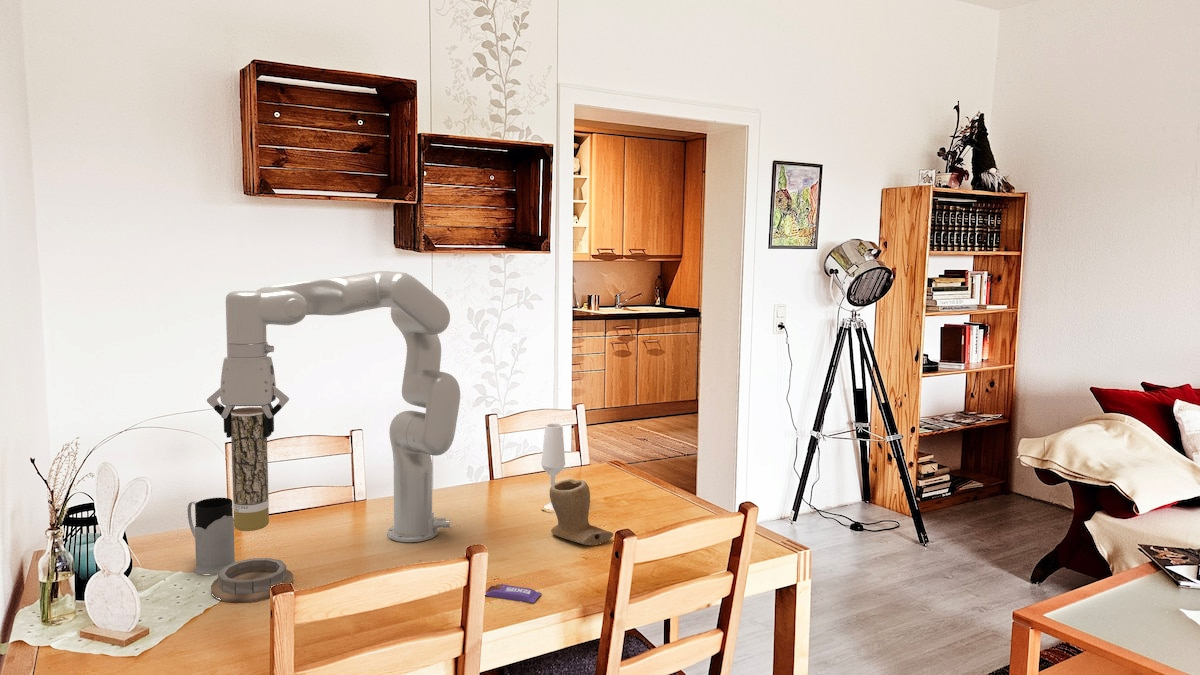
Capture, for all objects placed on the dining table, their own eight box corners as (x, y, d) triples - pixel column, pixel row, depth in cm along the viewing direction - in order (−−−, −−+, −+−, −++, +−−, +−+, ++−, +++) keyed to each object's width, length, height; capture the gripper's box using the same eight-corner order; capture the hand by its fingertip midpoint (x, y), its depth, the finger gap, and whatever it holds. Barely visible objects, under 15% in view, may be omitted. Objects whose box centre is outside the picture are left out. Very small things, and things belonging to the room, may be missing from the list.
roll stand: (300, 570, 180) (300, 554, 180) (283, 601, 165) (283, 583, 164) (225, 572, 178) (224, 556, 177) (200, 604, 162) (199, 586, 162)
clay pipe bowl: (539, 537, 205) (540, 479, 203) (573, 526, 213) (574, 471, 211) (580, 554, 194) (581, 493, 192) (614, 542, 202) (616, 484, 201)
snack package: (542, 588, 171) (534, 598, 166) (542, 597, 171) (533, 607, 166) (491, 581, 174) (482, 590, 169) (491, 589, 174) (482, 599, 169)
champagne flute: (568, 508, 228) (570, 425, 225) (555, 514, 222) (556, 429, 219) (549, 503, 231) (551, 421, 228) (535, 509, 225) (537, 425, 223)
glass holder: (208, 578, 175) (206, 511, 173) (171, 563, 182) (169, 499, 180) (245, 565, 182) (243, 501, 180) (208, 551, 189) (206, 490, 188)
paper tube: (256, 533, 166) (253, 414, 163) (226, 530, 167) (223, 412, 164) (275, 522, 172) (273, 408, 170) (247, 520, 174) (244, 406, 171)
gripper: (295, 349, 170) (296, 431, 173) (208, 348, 168) (211, 432, 170) (286, 353, 163) (288, 439, 165) (195, 353, 161) (198, 440, 163)
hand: (249, 435), depth 168 cm, fingers closed on paper tube, 6 cm apart
